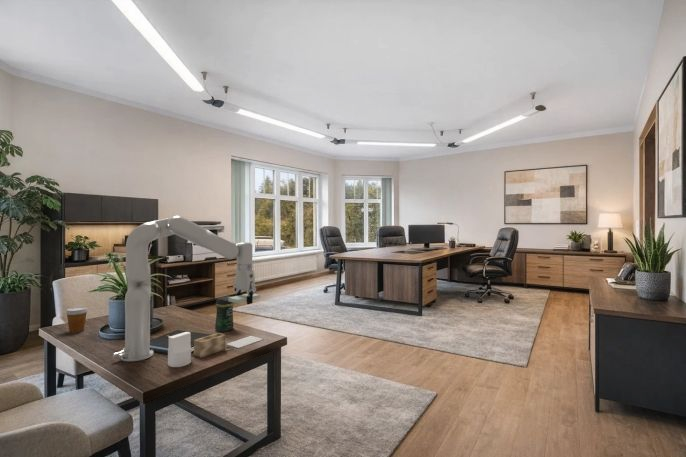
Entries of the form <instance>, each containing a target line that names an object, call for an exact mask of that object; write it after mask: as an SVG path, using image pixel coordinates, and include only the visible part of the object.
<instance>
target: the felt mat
mask: <svg viewBox="0 0 686 457" xmlns="http://www.w3.org/2000/svg"><path fill="white" fill-rule="evenodd" d="M262 341H264V339H263V338H260V337H258V336H253V335H249V336H246V337H242V338H240V339H237V340H234V341H231V342H228V343H225V346H229V347H231V348H234V349H235V348H236V349H238V350H239V349H241V348H245V347H246V346H249V345H253V344H255V343H258V342H262Z"/></svg>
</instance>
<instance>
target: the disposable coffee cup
mask: <svg viewBox="0 0 686 457" xmlns="http://www.w3.org/2000/svg"><path fill="white" fill-rule="evenodd" d="M87 313H88V307H85V306H74V307H70V308H67V309H66V311H65V314H66V318H67V325H68V331H69V333H80V332H83V331H84V330H85V326H86V319H87Z"/></svg>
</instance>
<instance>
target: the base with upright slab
mask: <svg viewBox="0 0 686 457" xmlns="http://www.w3.org/2000/svg"><path fill="white" fill-rule="evenodd" d="M191 333H192V332H190V331H185V332H180V333H177V334H173V335H171V336H168V349H167V366H168V367H170V368H181V367H184V366H187V365H190V364H191V363H192V346H191V344H192V343H191V339H192V338H191Z"/></svg>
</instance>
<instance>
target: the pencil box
mask: <svg viewBox="0 0 686 457" xmlns="http://www.w3.org/2000/svg"><path fill="white" fill-rule="evenodd" d="M225 350H226V334H224V333H222V332H221V333H220V332H217V333H213V334H210V335H207V336H203V337H200V338H197V339H194V340H193V356H195V357H197V358H206V357H207V356H210V355H213V354H215V353H219V352H222V351H225Z"/></svg>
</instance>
